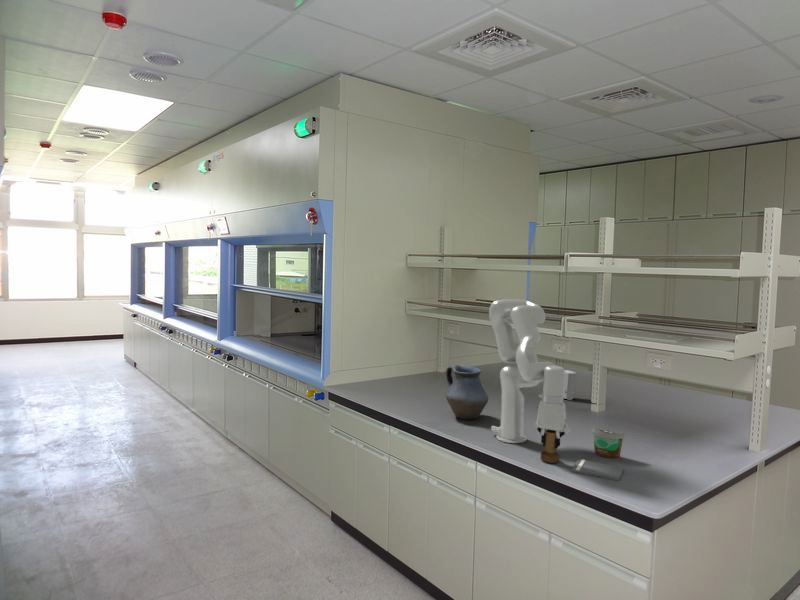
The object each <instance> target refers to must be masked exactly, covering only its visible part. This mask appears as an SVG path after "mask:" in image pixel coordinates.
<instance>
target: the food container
mask: <svg viewBox="0 0 800 600" xmlns="http://www.w3.org/2000/svg"><path fill="white" fill-rule="evenodd" d="M591 434H593V443H594V445H593V446H594V447H593V448H594V453H595V454H594V455H596V454H597V455H596V456H598V455H599V456H598V457H601V458H606V459H617V458H620V457H621V451H622V445H623V439H624V438H626V436H625V432H624V431H622V432H620V433H618V432H614V431H611V430H606V429H603V430H602V429H595V427H593V428H592V430H591Z"/></svg>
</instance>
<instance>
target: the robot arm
mask: <svg viewBox="0 0 800 600" xmlns="http://www.w3.org/2000/svg"><path fill="white" fill-rule="evenodd" d="M488 310H489V311H488V315H489V316H488V317H489V322H490V324H491V327H492V329H493V331H494V335H495V341H496V346H497V351H498V355H499V359H500V361H502V362H503V363H506V364H511V365H506V366H504V367H502V368H501V370H500V371H499V379H500V380H499V382H500V390H501V398H500V399H501V402H500V403H501V405H500V425H499V426H496V425H491V428H490V430H491V431H492V432H493V433H496V439H497V440H499V441H500V442H504V443H509V444H522V443H525V442H526V441H527V435H525V434H524V419H525V396H524V394H523V393H522V390H521V388H532V387H536V386H538V385H539V384H540V383H541V382H542V383H543V384H542V385H543V386H542V393H539V394H538V397H539V398H541V400H540V402H539V404H538V405H539V406H538V410H537V417H536V420H535V421H534V422H533V424H532V427H534V428H535V429H536V430H537V432H539V434H540V435H541V442H540V443H541V444H542V445H541V446H542V447H545V438H546V430H554V431H556V438H555V449H556V450H557V449H558V448H559V447H561V446H560V445H561V438H562V437H563V436H565V435H567V434H569V433H570V432H571V428H570V427H569V425H568V424H567V411H566V404H565V402H564V399H563V396H564V378H565V370H566V369H565V368H564V367H563V366H561V365H559V366H558V365H556V364H555V363H553V362H550V361H539V360H538V355H537V351H536V348H535V345H536V344H538V343H539V342H540V340H541V338H542V337H541V334H540V332H539V329H538V326H542V325H543V324H544V323H545V321H546V313H545V310H544V309H543V307H541V306H540V305H539V304H536V303H535V302H532V301H529V300H526V299H498V300H495V301H493V302H492V303H491V304H490V305H489V309H488ZM508 320H511V322H512V324H513V325H512V324H511V323H510V322H509V321H508ZM513 326H514V327H513ZM516 335H517V336H516ZM515 363H516V364H515ZM512 364H513V365H512Z"/></svg>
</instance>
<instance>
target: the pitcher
mask: <svg viewBox="0 0 800 600" xmlns="http://www.w3.org/2000/svg"><path fill="white" fill-rule="evenodd" d="M452 371H453V373H454V378H453V376H452V375H453V374H452ZM481 372H482V370H481V369H479V368H478V367H473V366H461V365H459V364H456V363H453V364H450V365H448V366H447V368H446V369H445V377H446V381H447V384H448V390H447V392H446V394H445V399H446V401H447V403H448V404H449V406H450V408H451V410H452V413H453V414H454V416H455V417H456V418H458V419H461V420H465V421H466V420H467V421H468V420H469V421H472V420H475V419H477V418H478V417H479V416H480V415H481V414H482V413H483V410H484V409H485V408H486V406H487V405H488V402H489V395H488V394H487V392H486V390H485V389H484V387H483V385H482V382H481V379H480V375H481Z"/></svg>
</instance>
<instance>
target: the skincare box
mask: <svg viewBox="0 0 800 600" xmlns="http://www.w3.org/2000/svg"><path fill="white" fill-rule="evenodd" d="M564 370H565V378H564V396H563V398H565V399H572V398H575V399H576V390H577V382H578V381H577V380H578V372H576V371H572V370H568V369H567V370H566V369H564Z"/></svg>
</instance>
